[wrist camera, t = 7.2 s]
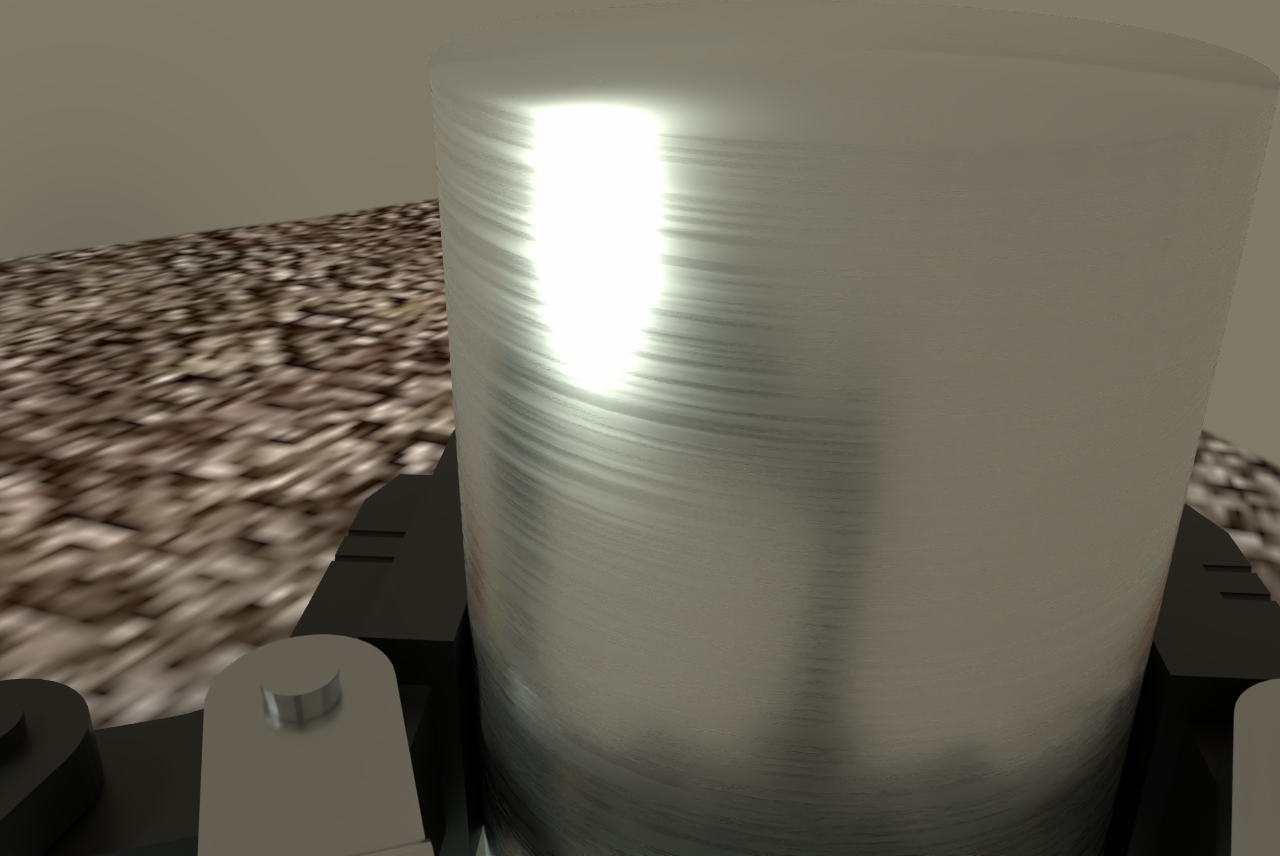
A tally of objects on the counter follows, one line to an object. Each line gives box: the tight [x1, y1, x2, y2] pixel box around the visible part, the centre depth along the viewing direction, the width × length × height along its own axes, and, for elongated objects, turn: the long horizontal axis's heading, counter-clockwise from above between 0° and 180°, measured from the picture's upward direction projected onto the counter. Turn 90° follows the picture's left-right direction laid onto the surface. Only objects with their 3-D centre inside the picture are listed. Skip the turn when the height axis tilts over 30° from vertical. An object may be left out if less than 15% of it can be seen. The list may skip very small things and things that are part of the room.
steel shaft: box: [429, 0, 1280, 856], centre depth 10 cm, size 5×5×13 cm
